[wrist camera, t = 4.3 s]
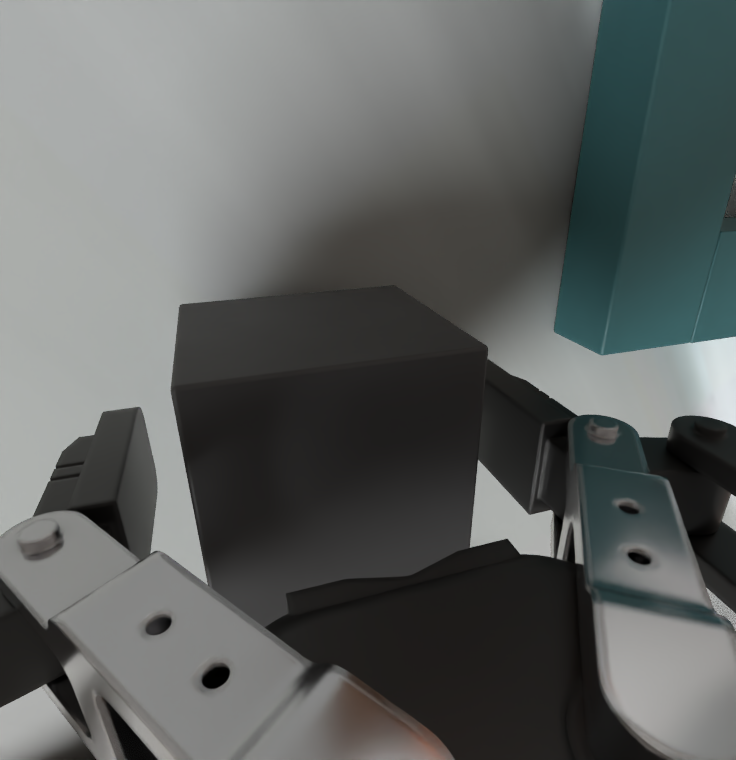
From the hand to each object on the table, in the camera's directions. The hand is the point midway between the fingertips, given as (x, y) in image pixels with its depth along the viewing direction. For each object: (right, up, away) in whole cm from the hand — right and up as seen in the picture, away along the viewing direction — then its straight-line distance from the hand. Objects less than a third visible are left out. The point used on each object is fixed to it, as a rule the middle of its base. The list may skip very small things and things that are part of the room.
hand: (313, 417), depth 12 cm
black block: (-1, +1, +3) cm, 3 cm away
